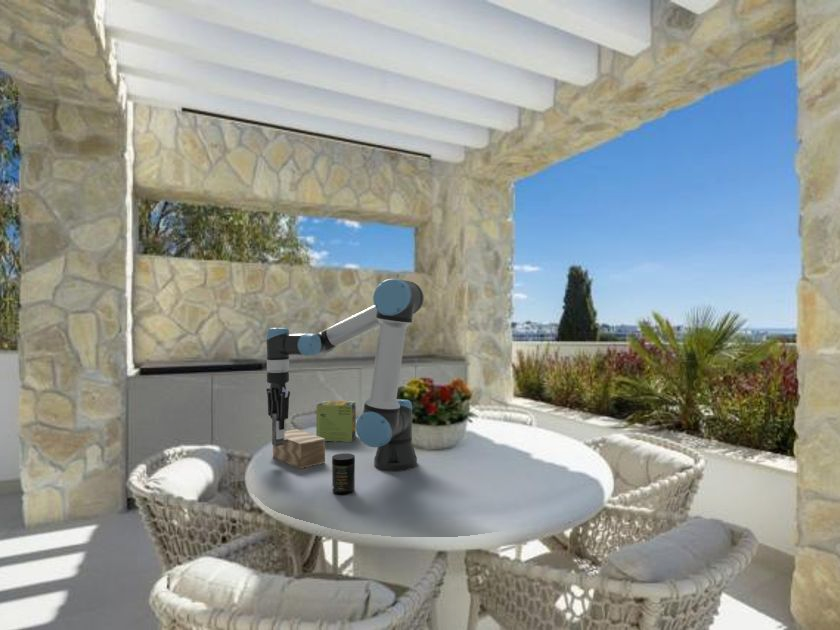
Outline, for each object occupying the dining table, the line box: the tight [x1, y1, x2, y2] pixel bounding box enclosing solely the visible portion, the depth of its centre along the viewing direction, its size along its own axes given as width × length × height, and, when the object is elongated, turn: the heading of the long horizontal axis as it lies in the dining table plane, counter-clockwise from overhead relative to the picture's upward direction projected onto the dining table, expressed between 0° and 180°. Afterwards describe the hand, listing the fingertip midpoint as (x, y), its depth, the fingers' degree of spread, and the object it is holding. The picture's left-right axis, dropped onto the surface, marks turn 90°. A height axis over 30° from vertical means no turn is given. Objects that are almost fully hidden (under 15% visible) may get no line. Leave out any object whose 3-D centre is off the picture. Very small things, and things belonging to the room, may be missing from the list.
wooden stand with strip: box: [271, 413, 325, 446], centre depth 171 cm, size 20×14×11 cm
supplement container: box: [331, 452, 356, 496], centre depth 141 cm, size 7×7×10 cm
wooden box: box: [272, 440, 326, 470], centre depth 173 cm, size 20×10×8 cm, turn 43°
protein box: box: [315, 400, 357, 443], centre depth 203 cm, size 10×15×16 cm
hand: (278, 437), depth 167 cm, fingers closed on wooden stand with strip, 3 cm apart
